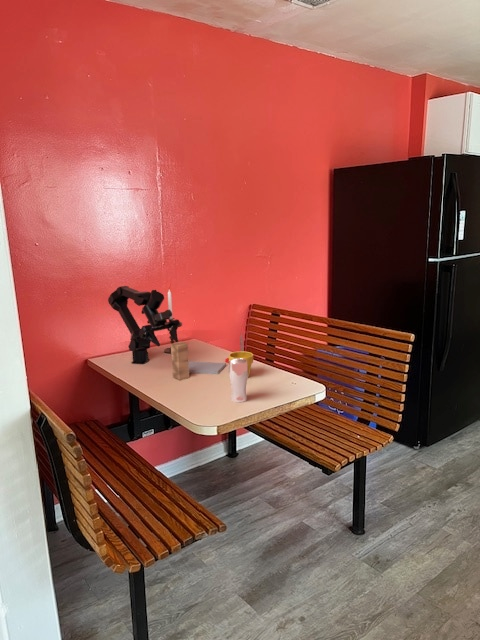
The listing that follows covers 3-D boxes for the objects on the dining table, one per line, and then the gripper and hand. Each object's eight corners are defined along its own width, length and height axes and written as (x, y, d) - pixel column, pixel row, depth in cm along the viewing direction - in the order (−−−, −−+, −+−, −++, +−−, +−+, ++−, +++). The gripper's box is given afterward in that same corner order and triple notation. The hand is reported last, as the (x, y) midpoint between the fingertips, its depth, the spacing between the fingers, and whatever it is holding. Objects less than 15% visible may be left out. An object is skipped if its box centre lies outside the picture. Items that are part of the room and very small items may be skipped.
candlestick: (186, 348, 248) (182, 281, 241) (179, 354, 238) (175, 284, 231) (166, 348, 251) (162, 281, 243) (158, 353, 241) (154, 284, 233)
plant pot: (258, 377, 201) (257, 355, 199) (236, 382, 196) (236, 359, 194) (246, 371, 210) (245, 349, 208) (225, 375, 205) (224, 353, 203)
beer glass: (229, 396, 181) (227, 358, 178) (247, 395, 182) (246, 357, 179) (230, 403, 175) (229, 364, 171) (249, 402, 175) (248, 363, 172)
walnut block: (172, 377, 204) (170, 343, 201) (182, 375, 207) (180, 341, 204) (179, 380, 201) (177, 346, 197) (189, 377, 204) (187, 343, 201)
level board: (179, 371, 212) (178, 369, 212) (189, 363, 223) (189, 361, 223) (217, 374, 207) (217, 371, 207) (225, 365, 219) (225, 363, 218)
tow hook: (224, 364, 222) (244, 363, 221) (222, 337, 219) (242, 336, 219) (226, 359, 230) (245, 358, 229) (223, 333, 227) (243, 332, 227)
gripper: (140, 307, 201) (156, 337, 195) (177, 301, 213) (193, 329, 208) (132, 323, 208) (147, 352, 203) (168, 316, 221) (183, 343, 215)
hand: (168, 343), depth 207 cm, fingers open, 9 cm apart
